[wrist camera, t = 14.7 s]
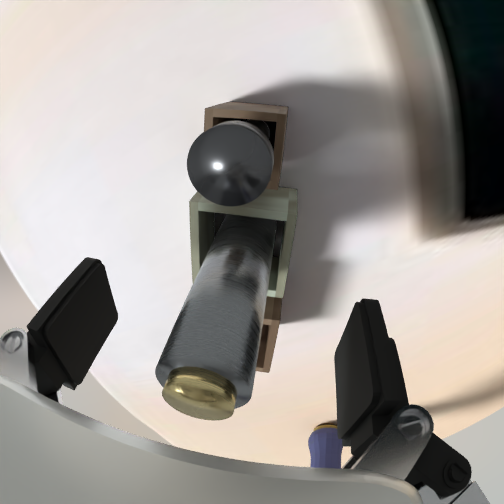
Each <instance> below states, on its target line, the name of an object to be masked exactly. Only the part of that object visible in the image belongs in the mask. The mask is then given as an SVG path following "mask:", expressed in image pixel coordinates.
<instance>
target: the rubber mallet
mask: <svg viewBox="0 0 504 504" xmlns="http://www.w3.org/2000/svg"><path fill="white" fill-rule="evenodd" d="M308 445H309V449H310V454H311V467H312V468H335V469H341V453H342V448H343V446H342V439H338V435H337V426H336V425H330V424H329V425H321V426H317V427H316V428H314V432H312V434H311V435H310V437H309V440H308Z"/></svg>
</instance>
